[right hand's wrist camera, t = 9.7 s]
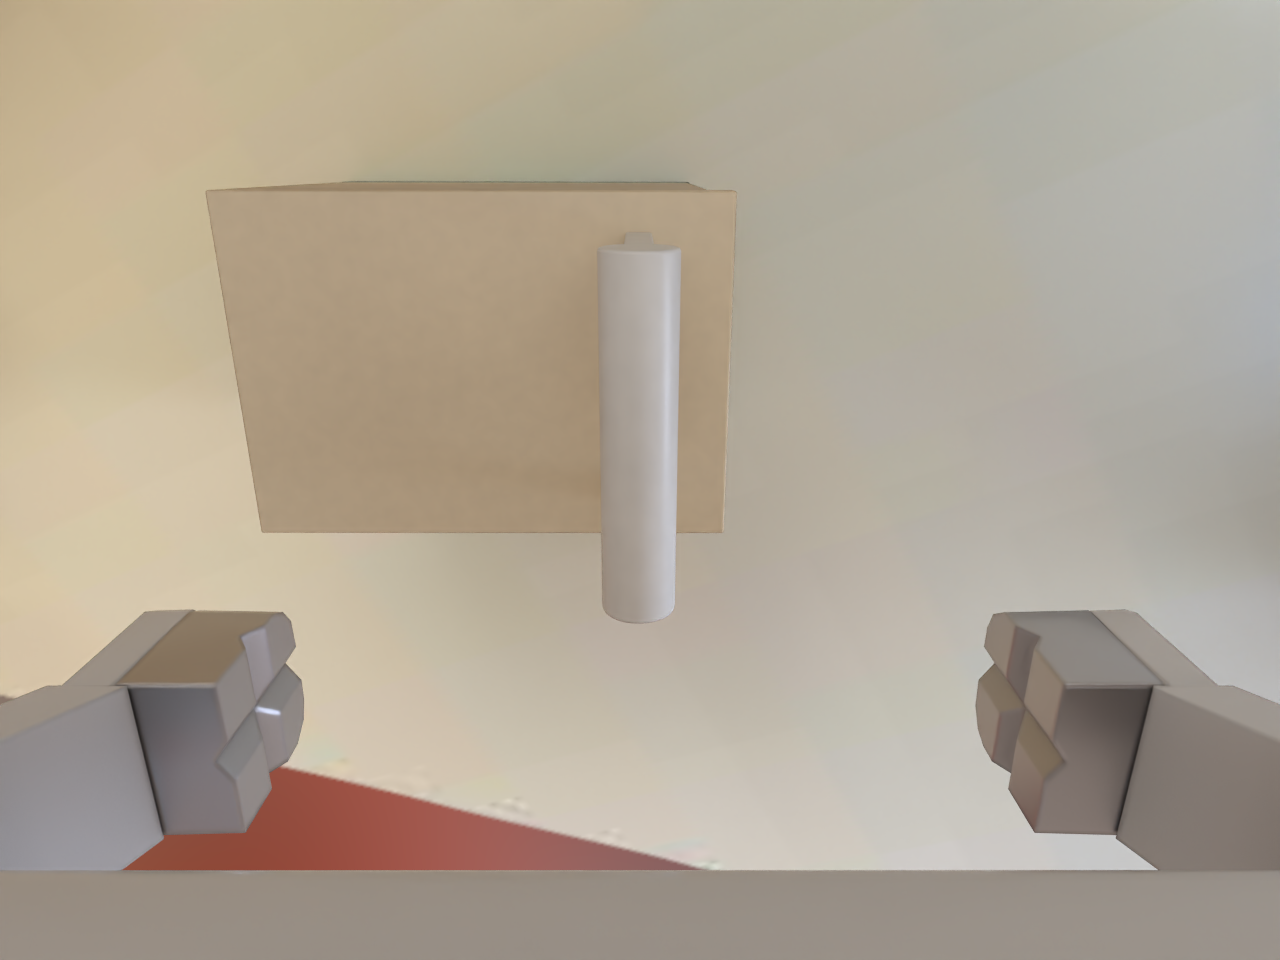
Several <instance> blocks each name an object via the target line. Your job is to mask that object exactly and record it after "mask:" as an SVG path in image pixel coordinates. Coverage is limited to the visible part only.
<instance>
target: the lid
mask: <svg viewBox="0 0 1280 960" xmlns="http://www.w3.org/2000/svg"><path fill="white" fill-rule="evenodd" d="M206 198H207V204H208V210H209V216H210V222H211V228H212V234H213V240H214V246H215V252H216V258H217V264H218V270H219V276H220V282H221V288H222V294H223V300H224V306H225V312H226V318H227V324H228V330H229V336H230V343H231V349H232V355H233V361H234V367H235V373H236V379H237V385H238V391H239V397H240V403H241V409H242V415H243V421H244V427H245V433H246V439H247V445H248V451H249V457H250V463H251V469H252V475H253V481H254V487H255V493H256V500H257V506H258V512H259V518H260V524H261V530H262V532H263V533H601V540H602V604H603V608H604V610H605V612H606V613H607V614H608V615H609V616H610V617H612V618H614V619H616V620H619V621H623V622H627V623H650V622H655V621H658V620H661V619H663V618H665V617H667V616H668V615H670V614H671V612H672V611H673V609H674V607H675V566H676V533H723V531H724V510H725V484H726V459H727V433H728V407H729V382H730V356H731V330H732V305H733V279H734V254H735V228H736V202H737V193H736V192H735V191H732V190H304V189H220V190H207V191H206Z"/></svg>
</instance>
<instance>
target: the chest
mask: <svg viewBox="0 0 1280 960" xmlns="http://www.w3.org/2000/svg"><path fill="white" fill-rule="evenodd" d="M237 189H304V190H705V189H703V188H700V187H697V186H694V185H692V184H689V183H688V182H366V181H351V182H340V183H323V184H306V185H288V186H271V187H254V188H237Z"/></svg>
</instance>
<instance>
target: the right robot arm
mask: <svg viewBox="0 0 1280 960" xmlns="http://www.w3.org/2000/svg"><path fill="white" fill-rule="evenodd" d="M295 647H296V644H295V639H294V634H293V629H292V624H291V621H290V620H289V619H288V617H287V616H286V615H285V614H284V613H283V612H250V611H195V610H161V611H148V612H144V613H143V614H142V615H141V616H140V617H138V618H137V619H136V620H135V621H134V622H133V623H132V624H131V625H129V626H128V627H127V628H126V629H125V630H124V631H123V632H122V633H120V634H119V635H118V636H117V637H116V638H115V639H114V640H113V641H111V642H110V643H109V644H108V645H107V646H106V647H105V648H104V649H102V650H101V651H100V652H99V653H98V654H97V655H96V656H95V657H93V658H92V659H91V660H90V661H89V662H88V663H87V664H86V665H84V666H83V667H82V668H81V669H80V670H79V671H78V672H77V673H75V674H74V675H73V676H72V677H71V678H70V679H69V680H68V681H66V682H65V683H64V684H63V685H62V686H45V687H43V688H40V689H38V690H35V691H33V692H30V693H28V694H25V695H23V696H20V697H18V698H15V699H13V700H10V701H8V702H5V703H3V704H0V960H1280V704H1277V703H1275V702H1272V701H1270V700H1267V699H1265V698H1262V697H1260V696H1257V695H1255V694H1252V693H1250V692H1247V691H1245V690H1242V689H1240V688H1237V687H1235V686H1218V685H1217V684H1216V683H1215V682H1214V681H1213V680H1211V679H1210V678H1209V677H1208V676H1207V675H1206V674H1205V673H1204V672H1202V671H1201V670H1200V669H1199V668H1198V667H1197V666H1196V665H1195V664H1193V663H1192V662H1191V661H1190V660H1189V659H1188V658H1187V657H1186V656H1184V655H1183V654H1182V653H1181V652H1180V651H1179V650H1178V649H1177V648H1176V647H1174V646H1173V645H1172V644H1171V643H1170V642H1169V641H1168V640H1167V639H1165V638H1164V637H1163V636H1162V635H1161V634H1160V633H1159V632H1158V631H1156V630H1155V629H1154V628H1153V627H1152V626H1151V625H1150V624H1149V623H1147V622H1146V621H1145V620H1144V619H1143V618H1142V617H1141V616H1140V615H1139V614H1137V613H1135V612H1132V611H1128V610H1125V609H1122V610H1100V611H1089V610H1083V611H1041V612H1004V613H998V614H993V616H992V618H991V621H990V623H989V625H988V627H987V633H986V638H985V644H984V647H985V649H986V650H987V652H988V653H989V655H990V657H991V658H992V660H993V661H994V665H993V666H992V667H991V668H990V669H989V670H988V671H987V672H986V673H985V674H984V675H983V676H982V677H981V678H980V679H979V681H978V689H977V698H976V715H977V725H978V731H979V734H980V737H981V740H982V743H983V746H984V748H985V750H986V751H987V753H988V755H989V757H990V759H991V760H992V762H994V763H996V764H997V765H999V766H1000V767H1002V768H1004V769H1005V770H1007V771H1008V772H1010V773H1011V776H1010V782H1009V788H1008V789H1009V791H1010V793H1011V794H1012V796H1013V798H1014V799H1015V801H1016V803H1017V804H1018V806H1019V808H1020V809H1021V811H1022V812H1023V814H1024V816H1025V817H1026V819H1027V821H1028V822H1029V824H1030V826H1031V827H1032V829H1033V831H1034V832H1035V833H1063V834H1100V835H1117V836H1116V839H1117V840H1119V841H1120V842H1121V843H1123V844H1124V845H1125V846H1127V847H1128V848H1129V849H1131V850H1132V851H1133V852H1135V853H1136V854H1138V855H1139V856H1140V857H1142V858H1143V859H1144V860H1146V861H1147V862H1148V863H1150V864H1151V865H1152V866H1154V867H1155V868H1156V869H1158V870H122V869H124V868H125V867H126V866H128V865H129V864H131V863H132V862H133V861H135V860H136V859H137V858H139V857H140V856H141V855H143V854H144V853H145V852H147V851H148V850H149V849H151V848H152V847H154V846H155V845H156V844H158V843H159V842H160V841H162V840H163V839H164V837H163V835H180V834H215V833H245V832H246V831H247V829H248V827H249V826H250V824H251V823H252V821H253V819H254V818H255V816H256V814H257V813H258V811H259V809H260V808H261V806H262V804H263V802H264V801H265V799H266V797H267V796H268V794H269V792H270V791H271V789H272V788H271V782H270V776H269V773H270V772H272V771H273V770H275V769H276V768H278V767H280V766H281V765H283V764H284V763H286V762H288V760H289V758H290V757H291V755H292V753H293V751H294V749H295V748H296V746H297V744H298V740H299V736H300V732H301V728H302V724H303V720H304V695H303V688H302V681H301V679H300V678H299V677H298V676H297V675H296V674H295V673H294V672H293V671H292V670H291V669H290V668H289V667H288V666H287V665H286V661H287V660H288V658H289V657H290V655H291V653H292V652H293V650H294V649H295Z"/></svg>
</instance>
